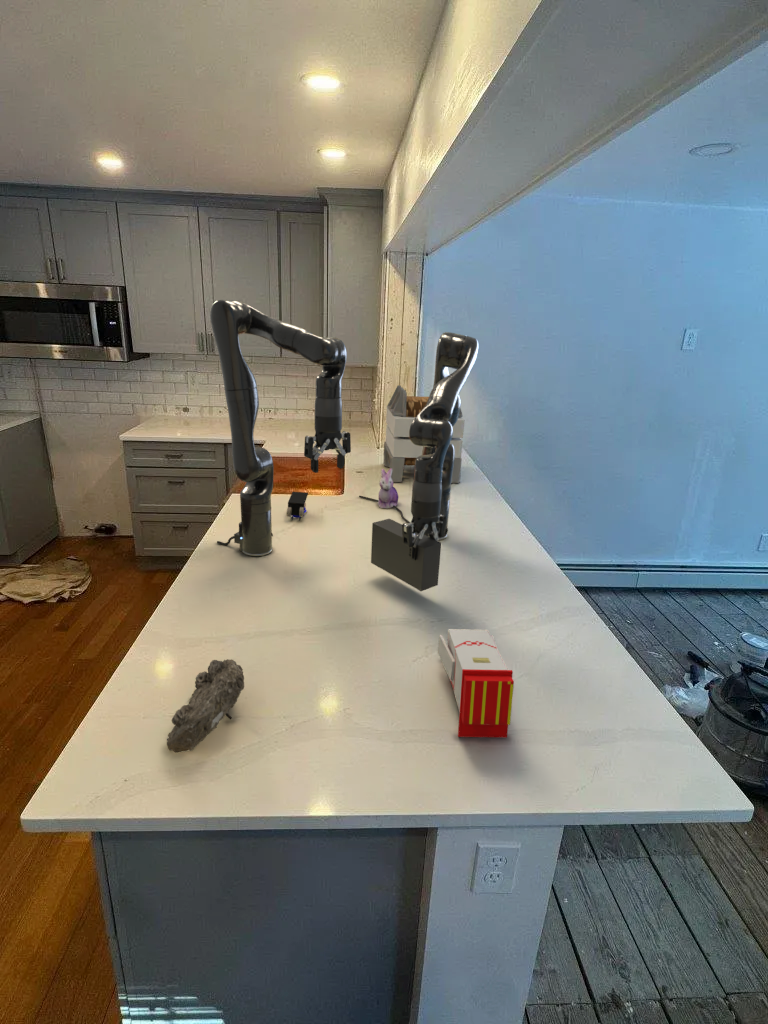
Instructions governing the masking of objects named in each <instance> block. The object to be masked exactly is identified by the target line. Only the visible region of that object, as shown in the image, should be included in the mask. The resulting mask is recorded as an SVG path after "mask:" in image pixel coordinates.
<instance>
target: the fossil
mask: <svg viewBox="0 0 768 1024" xmlns="http://www.w3.org/2000/svg"><path fill="white" fill-rule="evenodd" d="M243 670H244V669H243V667H242V665H240V664H237V662H236V661H235V660H234V659H232V658H231V659H227V658H226V659H224V660H223V661H222V660H217V659H212V660H211V661H210V663H209V665H208V666H207V671H201V672H199V673H198V674H197V675H196V676H195V680H194V684H195V685H194V687H195V689H194V690H193V693H192V694H191V697H190V698H189V700H188V704H184V705H182V706H181V707H180V709H177V710H176V711H175V713H174V715H173V716H172V718H171V723H172V724H173V727H172V730H171V731H170V732H168V734H167V738H166V741H167V742H166V745H167V749H168V750H169V751H173V752H174V753H176V754H178V753H182V752H188V751H189V752H192V751H193V750H195V748H196V747H197V746H199V744H200V743H201V742H203V741H204V740H205V739H206V738H207V737H208V736H209V735H210V734H211V733H212V732H214V730H215V729H217V727H218V726H219V724H220V722H221V721H222V720H223V719H224V718H225V716H226V717H227V719H229V720H233V717H232V715H230V714H229V710H230V709H231V708H234V706H235V704H236V703H237V702H238V699H239V697H240V695H241V693H242V691H243V690H245V689H244V688H245V675H244V671H243Z"/></svg>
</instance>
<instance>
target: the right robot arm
mask: <svg viewBox="0 0 768 1024" xmlns="http://www.w3.org/2000/svg"><path fill="white" fill-rule="evenodd" d="M435 351H436V352H435V362H434V363H435V364H434V365H435V366H434V376H433V377H434V379H433V385H432V389H431V391H430V393H429V396H428V397H429V398H428V401H427V404H426V406H425V407H424V408H423V409H422V410H421V412H420V413H419V414H418V415H417V416H416V417H415V419H414V420H413V422H412V424H411V426H410V429H409V437H410V440H411V442H412V443H413V444H414V445H417V446H423V450H422V455H421V456H418V457H417V458H416V460H415V466H414V470H413V471H414V472H413V473H414V474H413V482H412V489H411V503H410V513H411V515H412V518H411V520H410V521H409V520H408V519H406V517H404V514H403V511H401V510H400V508H399V507H397V505H396V506H394V505H393V507H392V508H393V509H395V510H396V511H398V512H399V514H400V517H401V519H402V520H403V521H405V522H403V523H402V538H403V544H404V545H407V546H408V547H409V554H408V556H409V558H410V559H412V560H416V559H417V545H418V543H419V541H420V540H421V539H422V537H423V535H426V536H428V537H430V538H432V539H434V540H436V541H439V542H440V541H444V540H446V539H447V538H448V533H449V528H448V525H449V517H450V516H449V514H450V504H451V494H452V493H451V491H452V483H451V482H452V472H453V466H454V458H455V449H454V446H453V445H452V444H450V442H451V439H452V436H453V428H452V427H453V426H454V425H455V423H456V422H457V420H458V416H459V411H460V408H461V405H462V400H461V397H460V394H461V392H462V389H463V388H464V386H465V384H466V382H467V380H468V378H469V376H470V374H471V372H472V370H473V369H474V366H475V363H476V360H477V357H478V353H479V341H478V339H477V338H475V337H473V336H469V335H465V334H459V333H455V332H451V331H450V332H449V331H445V332H443V333H442V334H441V335H440V336H439V338H438V341H437V344H436V350H435ZM449 369H454V371H453V372H451V373H449ZM358 498H361V499H365V500H369V501H373V502H376V503H378V501H379V499H375V498H372V497H368V496H363V495H358ZM415 532H416V533H418V534H419V535H418V536H417V535H415ZM414 538H415V541H414V542H413V540H414Z"/></svg>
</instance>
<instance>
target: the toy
mask: <svg viewBox="0 0 768 1024" xmlns="http://www.w3.org/2000/svg"><path fill="white" fill-rule="evenodd" d="M446 640H447V643H446V641H445V639H444V636H443V635H442V634H439V637H438V646H437V656H438V657H439V659H440V661H441V663H442V666H443V668H444V670H445V672H446V674H447V677H448V679H449V681H450V684H451V687H452V690H453V693H454V697H455V701H456V705H457V708H458V711H459V714H458V715H459V716H458V730H457V731H458V732H457V737H458V738H508V731H509V726H510V725H511V717H512V707H513V697H514V696H513V695H514V684H515V680H514V679H513V673H514V671H513V670H512V669H508V667H507V665H506V662H505V661H504V659H503V658H502V655H501V653H500V651H499V649H498V647H497V643H496V639H495V637H494V635H493V634H491V632H490V631H489V629H467V628H466V629H465V628H463V629H461V628H460V629H459V628H448V630H447V639H446Z"/></svg>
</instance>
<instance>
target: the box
mask: <svg viewBox="0 0 768 1024" xmlns="http://www.w3.org/2000/svg"><path fill="white" fill-rule="evenodd" d="M402 524H403V523H402ZM402 524H401V523H399V522H398V521H396V520H393V519H392V518H386V519H382V520H378V521H375V522H372V524H371V525H372V526H371V548H370V551H371V552H370V564H372V565H374V566H375V567H377V568H379V569H380V570H383V571H384V572H385V573H388V574H390V575H391V576H393V577H395V578H396V579H398V580H400V581H402V582H404V583H405V584H407V585H409V586H410V587H413V588H414V589H416V590H418V591H420V592H423V591H426V590H428V589H429V590H430V589H431V588H434V587H436V586H438V585H439V575H440V564H441V563H440V562H441V552H442V542H440V541H436V540H434V539H432V538H430V537H428V536H426V535H423V537H422V539H421V540H420V541H419V543H418V545H417V559H416V560H412V559H410V558H409V556H408V554H409V547H408V546H407V545H404V544H403V538H402ZM415 535H417V536H418V535H419V534H418V533H416V532H415ZM414 541H415V538H414V540H413V542H414Z"/></svg>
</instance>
